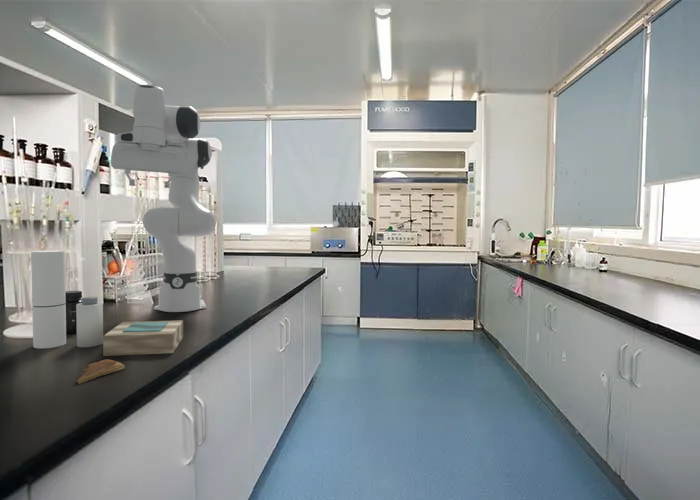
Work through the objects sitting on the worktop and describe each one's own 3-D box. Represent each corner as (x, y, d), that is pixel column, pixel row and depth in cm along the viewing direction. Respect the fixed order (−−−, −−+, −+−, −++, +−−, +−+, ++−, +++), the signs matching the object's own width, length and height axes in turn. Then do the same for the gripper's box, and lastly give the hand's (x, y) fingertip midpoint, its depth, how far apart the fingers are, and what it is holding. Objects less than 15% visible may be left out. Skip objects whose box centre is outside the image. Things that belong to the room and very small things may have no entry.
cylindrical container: (63, 339, 115) (61, 250, 114) (68, 345, 110) (67, 251, 109) (31, 344, 110) (29, 250, 109) (35, 350, 105) (33, 252, 104)
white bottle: (82, 341, 114) (81, 296, 113) (106, 340, 115) (105, 295, 114) (72, 347, 108) (72, 300, 107) (98, 346, 109) (97, 299, 108)
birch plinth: (122, 339, 116) (122, 320, 116) (183, 337, 120) (183, 319, 119) (103, 356, 102) (103, 334, 101) (172, 353, 105) (172, 332, 105)
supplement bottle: (56, 335, 119) (55, 294, 119) (61, 329, 125) (61, 290, 125) (84, 333, 122) (83, 293, 121) (88, 327, 128) (87, 289, 128)
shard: (76, 387, 83) (75, 378, 83) (54, 380, 87) (54, 371, 87) (126, 371, 93) (125, 363, 93) (104, 365, 96) (104, 357, 96)
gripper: (186, 145, 131) (186, 189, 131) (111, 138, 122) (112, 185, 122) (187, 142, 125) (187, 187, 126) (110, 133, 116) (110, 183, 117)
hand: (149, 186), depth 124 cm, fingers open, 8 cm apart
